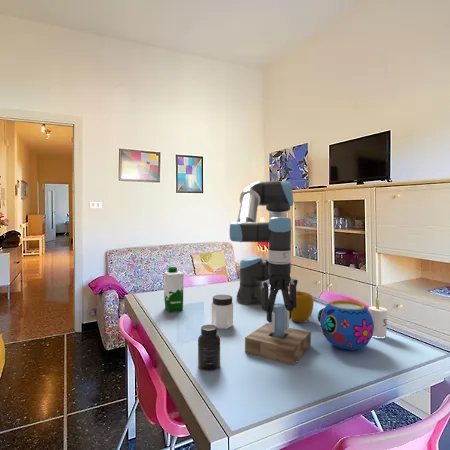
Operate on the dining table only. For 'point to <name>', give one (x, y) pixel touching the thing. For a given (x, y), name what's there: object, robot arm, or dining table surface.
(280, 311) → the dowel
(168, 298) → the milk carton
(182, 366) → the dining table surface
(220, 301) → the jar
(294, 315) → the apple
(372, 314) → the candle
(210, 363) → the supplement bottle
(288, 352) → the socket block
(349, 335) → the ceramic pot
